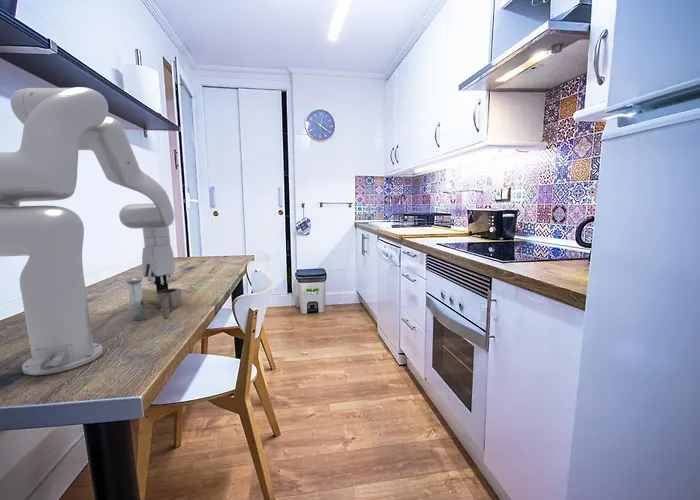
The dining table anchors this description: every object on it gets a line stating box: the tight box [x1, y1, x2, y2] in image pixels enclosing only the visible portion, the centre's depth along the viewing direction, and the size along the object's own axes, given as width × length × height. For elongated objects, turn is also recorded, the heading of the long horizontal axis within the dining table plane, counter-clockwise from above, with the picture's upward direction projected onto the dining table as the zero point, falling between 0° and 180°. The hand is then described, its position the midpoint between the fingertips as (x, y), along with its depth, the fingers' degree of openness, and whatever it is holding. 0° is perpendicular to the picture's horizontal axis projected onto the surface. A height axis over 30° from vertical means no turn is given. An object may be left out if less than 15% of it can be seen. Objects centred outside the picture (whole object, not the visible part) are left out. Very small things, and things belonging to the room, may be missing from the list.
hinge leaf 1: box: [142, 287, 159, 305], centre depth 109 cm, size 11×1×4 cm, turn 63°
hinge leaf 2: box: [156, 287, 184, 320], centre depth 100 cm, size 17×7×5 cm, turn 23°
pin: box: [125, 276, 146, 322], centre depth 93 cm, size 4×4×12 cm
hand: (163, 295), depth 113 cm, fingers closed
